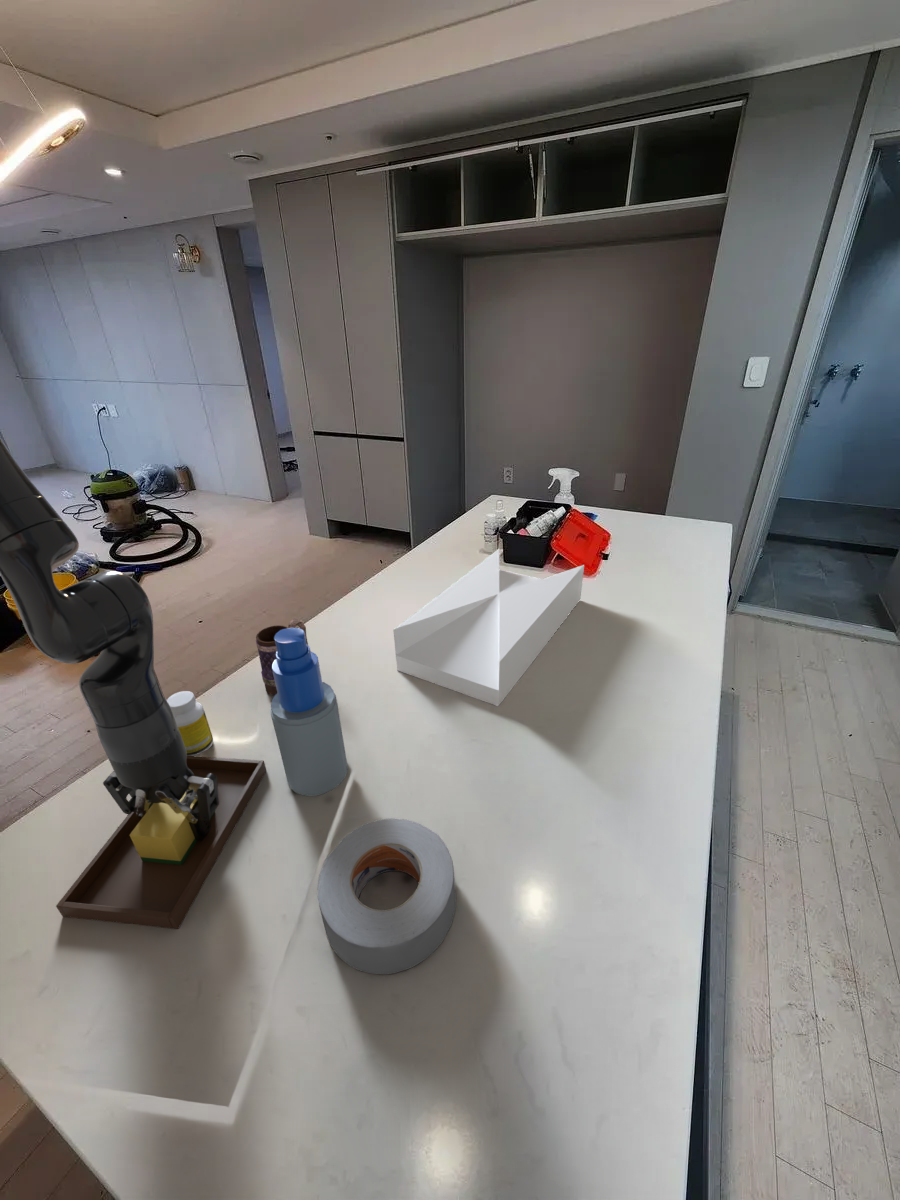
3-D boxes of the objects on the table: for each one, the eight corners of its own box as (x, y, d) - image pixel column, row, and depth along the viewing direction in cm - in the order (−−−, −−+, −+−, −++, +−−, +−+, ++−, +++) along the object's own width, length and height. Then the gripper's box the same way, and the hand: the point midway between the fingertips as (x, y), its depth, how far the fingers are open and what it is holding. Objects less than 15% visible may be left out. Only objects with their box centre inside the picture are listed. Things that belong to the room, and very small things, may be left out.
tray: (64, 919, 58) (55, 906, 57) (180, 767, 79) (175, 754, 78) (179, 932, 57) (173, 918, 56) (267, 773, 77) (264, 760, 76)
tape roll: (298, 902, 60) (290, 875, 57) (398, 822, 69) (396, 796, 67) (378, 1011, 50) (373, 984, 47) (482, 901, 59) (483, 874, 57)
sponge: (141, 861, 64) (129, 835, 62) (178, 808, 71) (168, 783, 69) (182, 865, 63) (171, 838, 61) (215, 811, 70) (206, 786, 68)
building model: (498, 706, 90) (499, 661, 85) (397, 670, 100) (393, 628, 95) (580, 600, 123) (584, 564, 119) (498, 581, 134) (499, 547, 129)
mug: (280, 702, 92) (267, 647, 86) (257, 688, 96) (243, 634, 90) (324, 675, 99) (315, 622, 93) (301, 662, 103) (291, 611, 97)
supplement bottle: (221, 742, 83) (206, 694, 79) (191, 763, 79) (173, 715, 75) (200, 730, 86) (185, 684, 81) (170, 750, 82) (152, 703, 77)
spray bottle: (274, 783, 75) (237, 641, 64) (317, 745, 82) (290, 610, 70) (319, 808, 71) (288, 661, 60) (360, 766, 78) (339, 626, 66)
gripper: (216, 719, 62) (245, 813, 70) (108, 712, 64) (149, 805, 72) (180, 765, 55) (217, 864, 63) (61, 756, 57) (112, 853, 65)
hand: (181, 832), depth 68 cm, fingers closed on sponge, 5 cm apart
